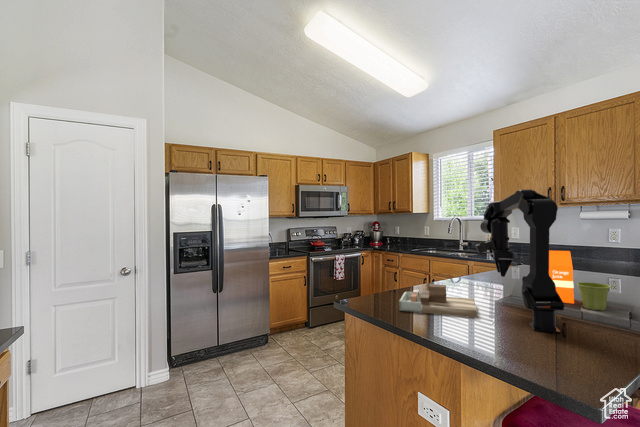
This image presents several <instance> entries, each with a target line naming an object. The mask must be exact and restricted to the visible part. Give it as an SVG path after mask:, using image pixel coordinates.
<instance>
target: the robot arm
mask: <svg viewBox="0 0 640 427" xmlns="http://www.w3.org/2000/svg"><path fill="white" fill-rule="evenodd" d="M517 208H518V209H519V211H521V213H523V220H524V221H525V223H526V224H527V225H528V227H529V273H528V274H527V275H526V276H525V275H524V276H522V279H521V283H522V284H521V295H522V299H523V304H524V307H526V309H527V310H528V309H529V310H532V322H531V321H530V322H529V325H530V327H531V328H532V329H533V331H535V332H544V333H556V334H561V333H562V332H561V330H560V329H559V328H558V327H557V317H556V311H561V312H562V311H564V310H565V303H564V302H563V301H562V299H561V298H560V296H559V294H558V293H557V291H556V285H555V283H554V281H553V280H552V279H551V277H550V276H549V251H550V229H551V227H552V226H553V225H554V223H555V221H556V220H557V215H558V208H559V206H558V204H557V203H556V202H555V201H554V200H553V199H552V198H550V197H548V196H546V195H543V194H541V193H538V192H537V191H536V190H534V189H519V190H516V191H515V192H514V193H512V194H511V195H509V196H508V197H506V198H504V199H503V200H499V201H493V202H489V203H488V205H487V207H486V209H485V212H484V214H483V221H482V222H481V223H480V225H479V226H480V230H481V231H482V232H483V233H485V234H490V237H489V240H487V241H484V240H483V241H481V242H479V243H477V244H475V248H476V250H477V252H478V254H482V253H485V252H487V251H488V254H489V256H490V257H491V258H493V260H494V263H495V268H496V271H497V273H499V274H500V276H501V277H504V278H505V276H506V274H507V272H508V270H509V268H510V266H511V264H512V262H513V260H514V258H515V254H514V253H513V252H512V251H511V250H510V247H509V246H510V245H509V244H510V243H509V241H510V237H509V223H510V222H511V220H509V218H508V217H509V216H510V215H511V214H512V213H513V210H515V209H517Z"/></svg>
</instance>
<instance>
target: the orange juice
mask: <svg viewBox="0 0 640 427" xmlns="http://www.w3.org/2000/svg"><path fill="white" fill-rule="evenodd" d="M572 261H573V260H572V256H571V251H570V250H549V276H550V277H551V279H552V280H553V281H554V283H555V285H556V291H557V293H558V294H559V296H560V298H561V299H562V301H563V303H564V304H565V303H566V304H575V295H574V288H575V286H574V271H573V270H574V268H573V262H572Z"/></svg>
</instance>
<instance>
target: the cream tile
mask: <svg viewBox="0 0 640 427" xmlns="http://www.w3.org/2000/svg"><path fill="white" fill-rule="evenodd" d="M412 292H413V294H417V301H418V302H419V293H420V289H413V291H412Z"/></svg>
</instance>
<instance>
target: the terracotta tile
mask: <svg viewBox="0 0 640 427" xmlns="http://www.w3.org/2000/svg"><path fill="white" fill-rule="evenodd" d="M411 302H418V301H417V294H411Z"/></svg>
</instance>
